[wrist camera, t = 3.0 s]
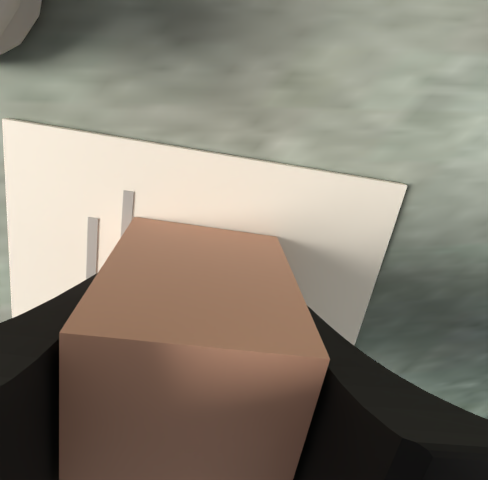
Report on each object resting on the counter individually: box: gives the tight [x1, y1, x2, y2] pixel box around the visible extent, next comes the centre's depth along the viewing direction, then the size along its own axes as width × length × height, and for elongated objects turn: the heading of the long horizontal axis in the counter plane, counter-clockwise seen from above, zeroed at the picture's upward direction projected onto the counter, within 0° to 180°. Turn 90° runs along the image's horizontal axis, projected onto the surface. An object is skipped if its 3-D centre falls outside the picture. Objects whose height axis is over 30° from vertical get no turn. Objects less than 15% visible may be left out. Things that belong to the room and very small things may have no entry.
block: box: [59, 217, 330, 480], centre depth 10 cm, size 4×4×6 cm
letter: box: [2, 118, 408, 346], centre depth 13 cm, size 12×9×1 cm
